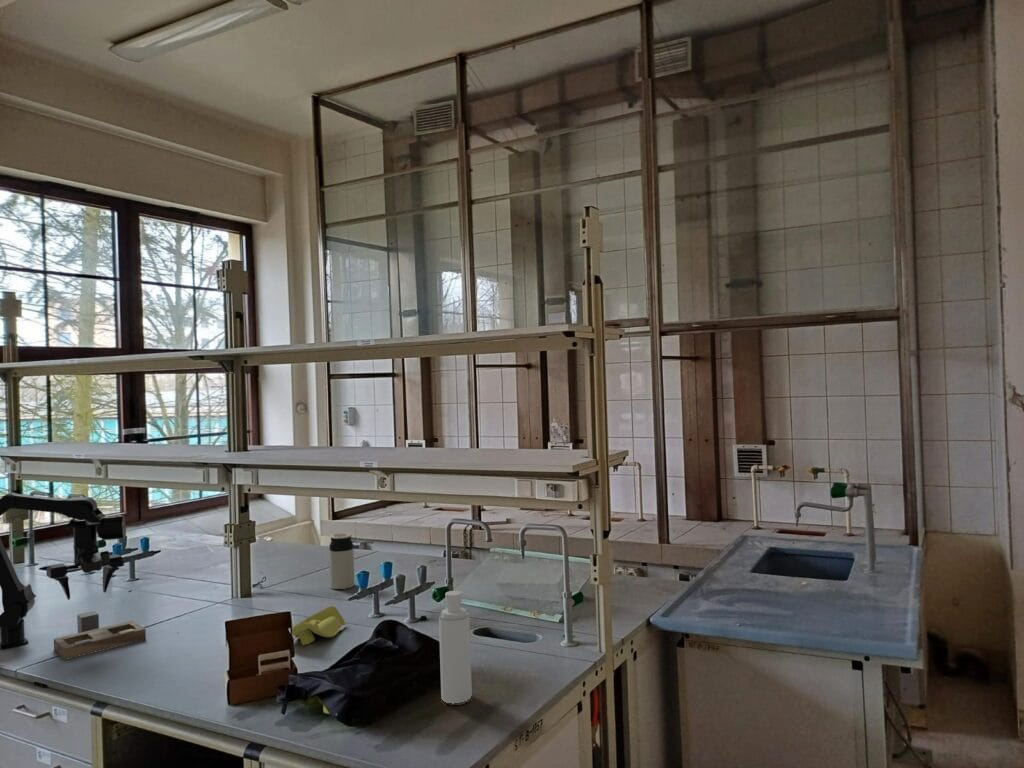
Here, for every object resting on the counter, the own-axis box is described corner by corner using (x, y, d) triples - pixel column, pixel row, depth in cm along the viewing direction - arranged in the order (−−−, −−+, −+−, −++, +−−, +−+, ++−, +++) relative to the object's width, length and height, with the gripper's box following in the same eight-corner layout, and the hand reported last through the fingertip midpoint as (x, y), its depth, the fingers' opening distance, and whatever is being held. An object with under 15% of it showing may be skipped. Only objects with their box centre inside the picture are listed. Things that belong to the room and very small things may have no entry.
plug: (77, 635, 212) (77, 614, 212) (94, 631, 215) (94, 610, 215) (82, 638, 208) (81, 617, 208) (99, 634, 211) (98, 614, 211)
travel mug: (333, 591, 248) (331, 538, 248) (328, 585, 256) (327, 534, 255) (356, 588, 252) (355, 535, 251) (351, 582, 259) (350, 531, 259)
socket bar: (54, 649, 200) (53, 637, 200) (133, 630, 214) (132, 619, 214) (64, 660, 192) (63, 647, 192) (145, 639, 206) (145, 627, 206)
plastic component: (307, 617, 214) (337, 602, 213) (318, 641, 213) (348, 626, 212) (278, 636, 194) (310, 619, 193) (289, 662, 193) (322, 645, 193)
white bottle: (464, 690, 165) (460, 579, 165) (477, 701, 159) (473, 586, 159) (436, 697, 162) (433, 584, 162) (448, 708, 156) (445, 591, 156)
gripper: (54, 551, 199) (56, 609, 199) (129, 540, 212) (130, 594, 212) (45, 545, 207) (46, 601, 207) (117, 535, 220) (118, 587, 220)
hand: (86, 595), depth 211 cm, fingers open, 9 cm apart
